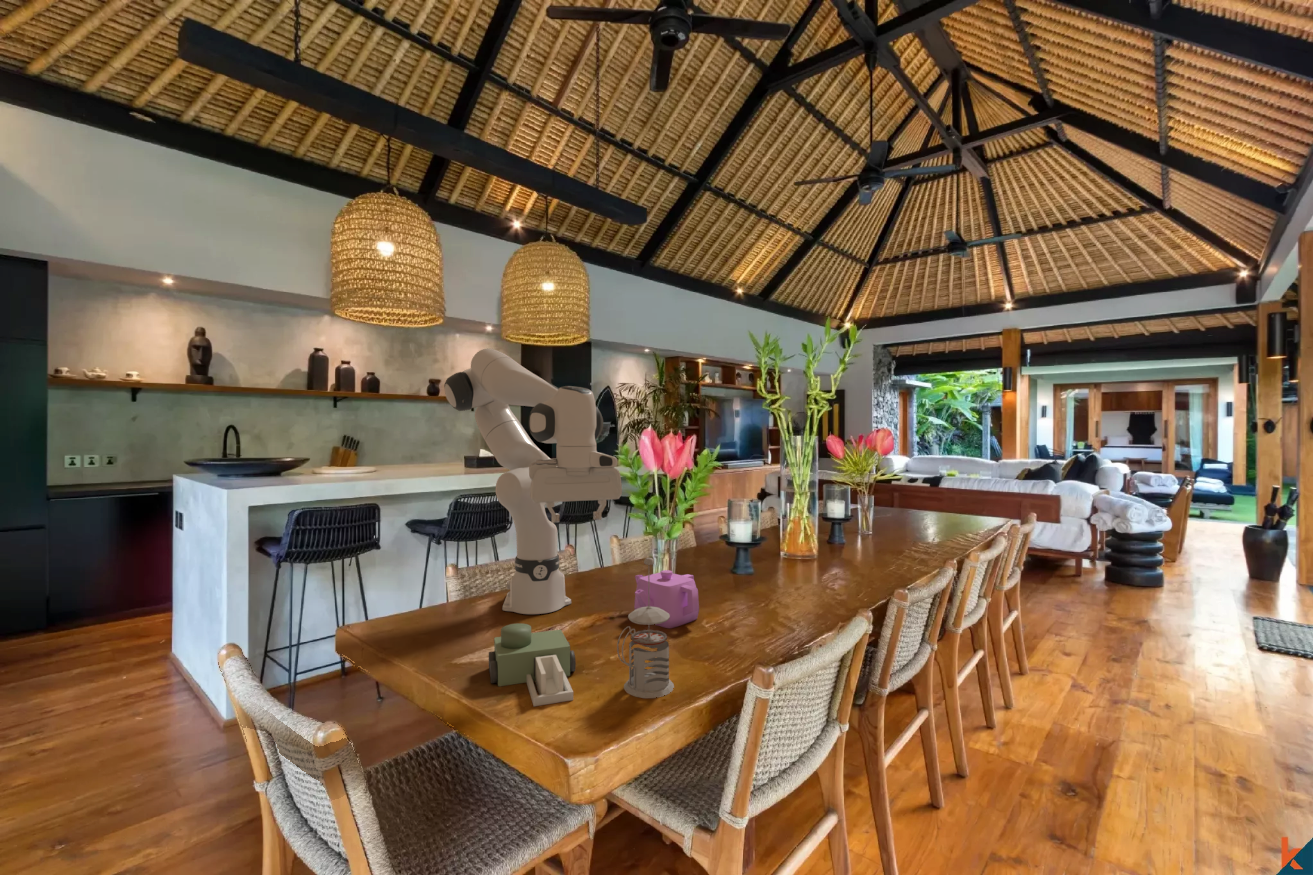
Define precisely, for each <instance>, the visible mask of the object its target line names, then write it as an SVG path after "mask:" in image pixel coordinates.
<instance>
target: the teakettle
mask: <svg viewBox="0 0 1313 875" xmlns="http://www.w3.org/2000/svg"><path fill="white" fill-rule="evenodd" d="M634 578H635V582H636V590H635V592H634V595H635V597H634V607H633V608H634V610H635V609H638V608H641V607H647V606H648V575H644V576H643V574H637V575H635V576H634ZM699 604H700V602H699V590H698V588H697V584H696V582H695V576H694V575H693V574H688V573H687V574H677V573H673V571H672V570H669V569H664V570H661V571H660V572H655V573H652V574H649V606H651V607H658V608H660V609H662V610H664V611H666V612H667V613H669V615H670V618H669V619H668V620H667V621H666V622H663V623H660V624H655V626H658V627H662V628H665V629H673V628H677V627H680V626H683V625H686V624H688V623H689V624H690V623H691V622H693V621H695V620H697V619H698V617H699V612H700V605H699Z"/></svg>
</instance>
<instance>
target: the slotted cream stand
mask: <svg viewBox="0 0 1313 875" xmlns="http://www.w3.org/2000/svg"><path fill="white" fill-rule="evenodd" d="M535 686H536V689H537V691H538V692H537V693H538V695H544V694H550V693H556V692H563V691H564V688H563V669H562V667H561V665H560V663H559V660H558V658H557V656H556V655H550V656H542V657H536V681H535Z"/></svg>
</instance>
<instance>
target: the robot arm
mask: <svg viewBox="0 0 1313 875" xmlns="http://www.w3.org/2000/svg"><path fill="white" fill-rule="evenodd" d="M443 386H444V395H445V398H446V400H447V402H448V403H449V404H450V406H451V407H452V408H453V409H455V410H457V411H459V412H464V411H470V410H472V409H475V408H476V409H475V411H474V420H475V422H476V424H477V428H478V430H479V432H480V435H481V437H482V438H483V440H484V442H485V443H486V446H487V447H488V448H489V450H490V451H491V454H492V455H493V457H494V458H495V459H496V461H497V463H498V464H499V466H501V467H503V468H505V469H508V471H506V472H504V473H502V474H500V475H499V477H498V478H497V480H496V483H495V495H496V499H497V501H498V502H499V504H501V506H503V507H504V508H505V509H506V510H507V511H508V512H509V514H510V516H511V519H512V521H513V523H514V528H515V535H516V536H515V537H516V538H515V539H516V556H515V557H514V558H515V559H514V570H515V572H514V574H513V576H512V577H511V579H510V580H507V581H506V589H507V590H510V591H508V592H507V594H506V597H505V599H504V602H503V605H502V608H501V610H502V611H505V612H512V613H513V612H514V613H517V614H521V615H522V614H523V615H540V614H541V615H542V614H548V613H552V612H556V611H559V610H560V609H562V608H564V607H565V606H569V605H571V604H572V599H571V598H569V597H568V596H567V595H566V583H565V582H566V581H565V578H566V577H565V574H564V573H563V572H562V571H560V569H559V568H560V555H559V554H558V528H557V525H555V523H560V516H561V515H560V513H557V512H555V510H554V507H555V504H558V503H560V502H561V503H562V502H585V501H597V503H598V504H599V506H598V507H597V510H596V511H593V514H592V517H593V518H592V520H594V521H602V513H603V511H604V510H605V508H606V506H607V500H620V498H621V496H622V495H623V494H622V493H623V488H622V479H621V478H622V477H621V473H620V471H619V470H618V468H617V465H618V459H617V457H615V456H612V455H609V454H606V453H604V452H598V450H597V439H598V438H599V436H600V435H601V434H602V431H603V428H604V418H603V416H602V413H601V411H600V409H599V408H598V406H597V405H596V399H595V395H594V393H593V391H592V390H590V389H589V388H588V387H582V386H575V385H574V386H572V385H565V386H564V385H563V386H561V387H557V386H555V385H554V384H552V383H550V382H549V381H546V380H544V379H543V378H541V377H540V376H538V375H537V374H535V373H533V372H532V371H530V370H528V369H527V368H525V367H524V366H522V365H521V364H520V363H518V362H517V361H516V360H515V359H513V358H512V357H511V356H509V355H507V354H506V353H504V352H502V351H499V350H497V349H494V348H489V347H488V348H487V347H486V348H482V349H480V350H478V351H477V352H476V353H475V354H474V356H472V359H471V361H470V368H468V369H464V371H458V372H455V373H454V374H452V375H450V376H449V377H447V378H446V380H445V382H444V385H443ZM510 406H522V407H524V406H525V407H532V409H531V411H530V413H529V416H528V421H527V422H528V424H527V425H528V429H529V432H530V435H531V436H532V437H533V439H534V440H536V442H539V443H544V444H556V447H555V448H556V453H555V454H556V458H554V459H552V458H550V457H549V456H548V455H547V454H546V453H545V452H544V451H543V450H541V449H540V448H539V447H538V446H537V445H536V444H535V443H534V441H533V440H532V439H531V437H530V436H529V434H528V433H527V431H526V430H525V428H524V427H523V425H522V423H521V422H520V421H519V419H518V418H517V417H516V416H515V414H514V413H513V411H512V410H511V407H510ZM545 506H546V508H547V509H548V511H549V513H550V514H551V521H550V520H549V518H548V516H547V513H546V508H545Z"/></svg>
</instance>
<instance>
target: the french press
mask: <svg viewBox="0 0 1313 875" xmlns="http://www.w3.org/2000/svg"><path fill="white" fill-rule="evenodd" d="M643 564H644V565H647V567H648V571H647V572H648V574H647V576H648V606H647V607H641V608H638V609H634V610H632V611H631V612H630V613H628V616H627V618H628V619H629V621H630V622H631V623H634V624H637V625H648V626H647V627H648V628H647V630H646V629H643V630H638V631H636V629H635V628H632V627H631V626H630V625H628V626H626V627H624V629H623V630H622V631H621V633H620V634H619V637H618V640H617V643H616V652H617V656H618V659H619V661H620V662H621V663H623V664H625V665H626V666H627V667H629V668H628V670H629V671H628V673H629V674H628V675H629V676H628V680H626V682H625V683H624V684H623V690H624V691H625V692H626V693H627V694H629V695H630V696H633V697H636V698H642V699H657V698H660V697H664V695H665V696H667V695H669V694H671V693H672V692H673V691H674V689H675V685H674V682H672V680H671V679H670V666H669V665H670V660H669V659H670V643H669V642H668V641H667V640H668V634H666V633H665V632H663V631H660V630H656V629H655V630H653V629H650V626H651V625H654V624H660V623H663V622H666V621H667V620H668V619H669V618H670V615H669V613H667V612H666V611H664V610H662V609H660V608H658V607H651V606H649V575H650V565H654V564H655V560H654V559H653V558H652V557H645V559H644V560H643ZM628 628H629V631H628V632H627V633H626V635H625V637H624V639H623V641H622V645H621V655H620V652H619V651H620V650H619V644H620V640H621V637H622V635H623V633H624V632H625V631H626V630H627V629H628ZM632 631H633V632H632ZM629 634H630V640H631V641H630V642H629V643H628V644H629V645H628V646H629V648H628V650H629V651H628V658H629V659H628V661H629V662H626V660H625V656H624V645H625V643H626V642H625V641H626V639H627V637H628V636H629ZM635 645H640V646H642V647H644V648H641V647H633V646H635ZM632 647H633V648H632ZM645 648H650V649H656V650H653V651H652V650H648V649H645ZM632 654H633V655H632ZM621 656H622V659H621ZM645 661H649V662H645ZM647 667H649V668H647ZM673 688H674V689H673ZM670 692H671V693H670ZM656 697H657V698H656Z"/></svg>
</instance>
